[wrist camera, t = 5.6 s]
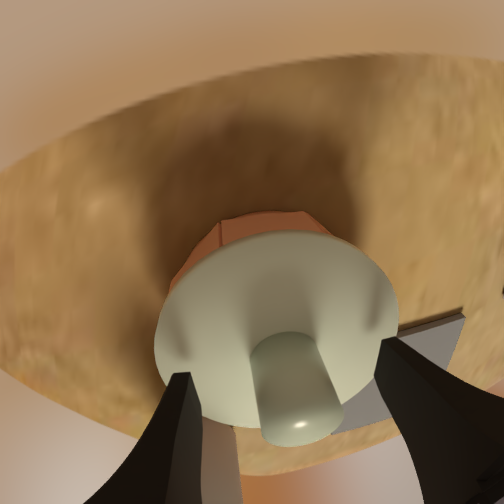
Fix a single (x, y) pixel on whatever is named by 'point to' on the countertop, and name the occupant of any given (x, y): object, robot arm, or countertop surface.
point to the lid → (278, 331)
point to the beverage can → (219, 464)
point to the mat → (423, 341)
